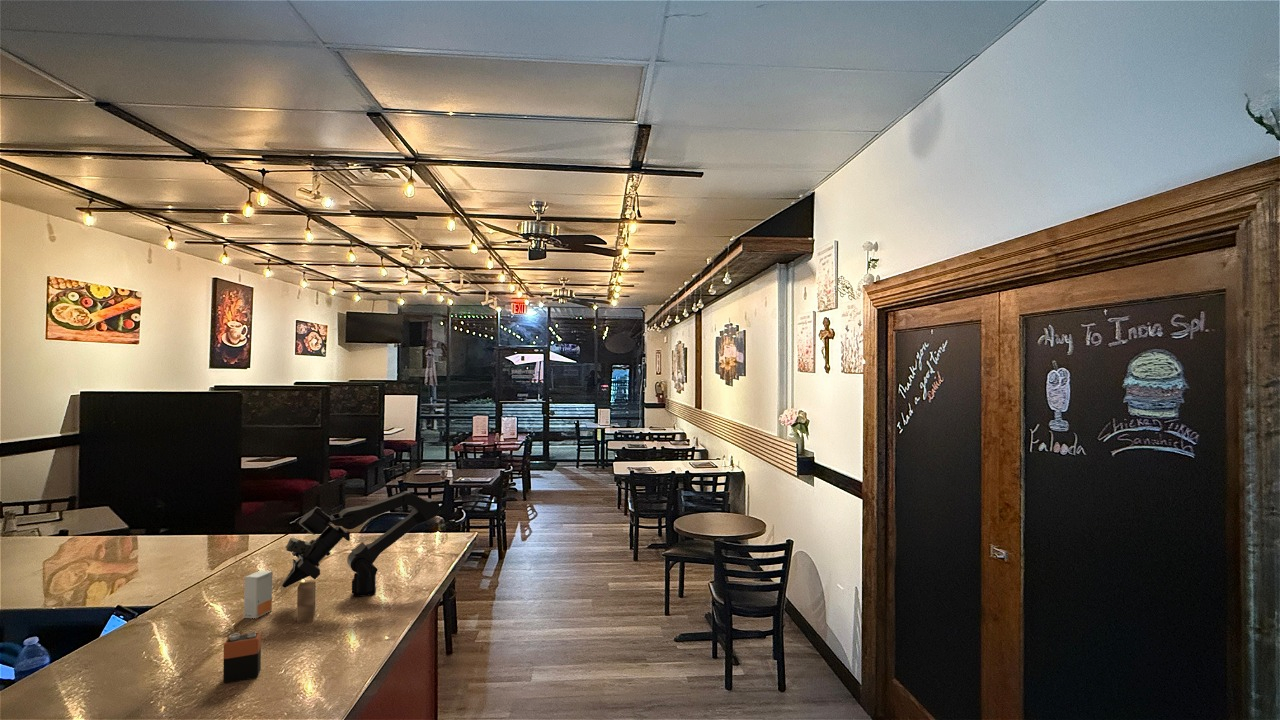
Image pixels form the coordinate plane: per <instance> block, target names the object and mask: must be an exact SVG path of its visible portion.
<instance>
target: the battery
mask: <svg viewBox="0 0 1280 720" xmlns="http://www.w3.org/2000/svg"><path fill="white" fill-rule="evenodd" d="M261 655H262V634H261V632H260V631H259V632H256V631H251V632H248V633H246V634H241V633H236V632H235V633H233V634H230V635H229V637H227V639H226V640H225V641H224V643H223V668H222V669H223V672H222V675H223V677H222V679H223V681H222V682H223V684H229V683H234V682H240V680H241V681H245V680H250V679H251V680H252V679H255V678H258V677H259V674H260V671H261V665H262V662H261V661H262V657H261Z"/></svg>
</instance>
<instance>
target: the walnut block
mask: <svg viewBox="0 0 1280 720" xmlns="http://www.w3.org/2000/svg"><path fill="white" fill-rule="evenodd" d="M316 583H317V582H316V581H309V582H300V583H299V584H298V586H297V591H296V592H297V595H296V596H297V598H296V599H297V600H296V601H297V602H296V605H297V606H296V607H297V608H296V609H297V610H296V623H297V624H301V623H307V622H308V623H309V622H313V621H314V620H315V618H316V587H317V586H316ZM314 617H315V618H314Z"/></svg>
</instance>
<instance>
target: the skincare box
mask: <svg viewBox="0 0 1280 720" xmlns="http://www.w3.org/2000/svg"><path fill="white" fill-rule="evenodd" d="M273 572H274V571H273V570H272V571H271V570H259V571H256V572H253V573H251V574H249V575H246V576H245V577H244V595H243V597H244V599H243V601H244V602H243V603H244V605H243V618H244V619H252V618H253V620H255V619H258V618H259V617H262V616H265V615H267V614H268V612H269V613H271V612H272V611H273V578H274V577H273V574H274V573H273ZM270 611H271V612H270ZM266 613H267V614H266ZM254 618H255V619H254Z"/></svg>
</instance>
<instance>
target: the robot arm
mask: <svg viewBox="0 0 1280 720" xmlns="http://www.w3.org/2000/svg"><path fill="white" fill-rule="evenodd" d="M406 505H408V506H410V507H412V510H411V511H410V513H409V514H408V515H407V516H406V517H404V518H403V519H401V520H400V521H399V522H397V523H396V524H395V525H393V526H392V527H391V528H389V529H387V531H386V532H384V533H383V534H382V535H380V536H378V537H377V538H375V540H374V541H372V542H371V543H370V542H369V543H367V544H366V543H364V542H361V543H359V544H358V545H357V546H356V547H354V548H353V549H351V550H350V551H351V552H350V553H349V554H348V555H347V559H346V562H347V565H348V567H350V570H352V571H353V573H354V576H353V578H352V580H351V594H352V597H353V598H357V597H365V596H373V595H376V593H377V592H376V591H377V588H378V587H377V573H378V567H377V566H375V564H374V562H375V561H376V560H377V559H378V557H379V556H380V555H381V553H382V552H383V551H385V550H387V549H388V548H389V547H390V546H392V545H394V544H395V543H396V542H397V541H399V539H401V538H402V537H403V536H405V535H406V534H408V533H409V532H410V531H411V530H413V529H414V528H415V527H416V526H418V525H421V524H424V523H426V522H428V521H430V520H432V519H434V518H436V517H437V516H438V515H439V513H440V511H441V507H440V504H439V503H438V501H436V500H434V499H431V498H430V497H429V498H428V497H425V498H422V497H420V496H419V495H416V494H413V493H412V492H411V491H408V490H404V491H403V492H400V493H397V494H395V495H392V496H389V497H386V498H384V499H381V500H377V501H375V502H372V503H369V504H367V505H366V504H365V505H357V506H352V507H347V508H344V509H342V510H340V511H339V512H337V513H333V514H330V515H329V514H327V513H325V512H324V511H323V510H322V509H321V508H320V507H318V506H315V507H314V508H313V509H311V510H309V511H308V512H306V513H305V514H304V515H303V516H302V517H301V519H300V520H299V522H298V525H300V526H301V527H302V528H304V529H305V530H306V531H307V532H308V533H310V534H311V535H319V536H317V538H316V539H311V540H310V541H309V542H307V541H305V540H301V539H297V538H294V537H290V538H289V540H288V542H287V544H286V546H285V549H286V551H288V552H289V553H291V554H292V555H291V556H294V557H296V559H294V558H293V559H292V567H291V569H290V572H289V573H288V574H287V576H286V578H285V579H284V581H282V585H281V586H282V587H283V589H286V588H287V587H290V586H292V585H293V584H296V583H297V582H300V581H301V580H305V579H306V578H308V577H311V578H312V579H314V580H317V579H318V577H319V576H320V575H321V569H320V567H319V566H320V563H321V562H322V561H323V560H324V558H325V557H326V556H327V557H329V556H330V555H331V551H332V550H333V549H334V548H335V547H336V546H337V545H338V543H340V542H341V540H342V539H343V538H344V539H345V540H346V541H347V542H349V541H351V538H350V537H351V536H350V534H351V531H350V530H353V529H355V528H357V527H359V526H361V525H363V524H364V523H366V522H367V521H368V520H369V519H372V518H374V517H377V516H379V515H382V514H384V513H388V512H391V511H394V510H396V509H398V508H401V507H404V506H406ZM333 525H334V526H335V527H334V526H333ZM344 529H345V530H344Z"/></svg>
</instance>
